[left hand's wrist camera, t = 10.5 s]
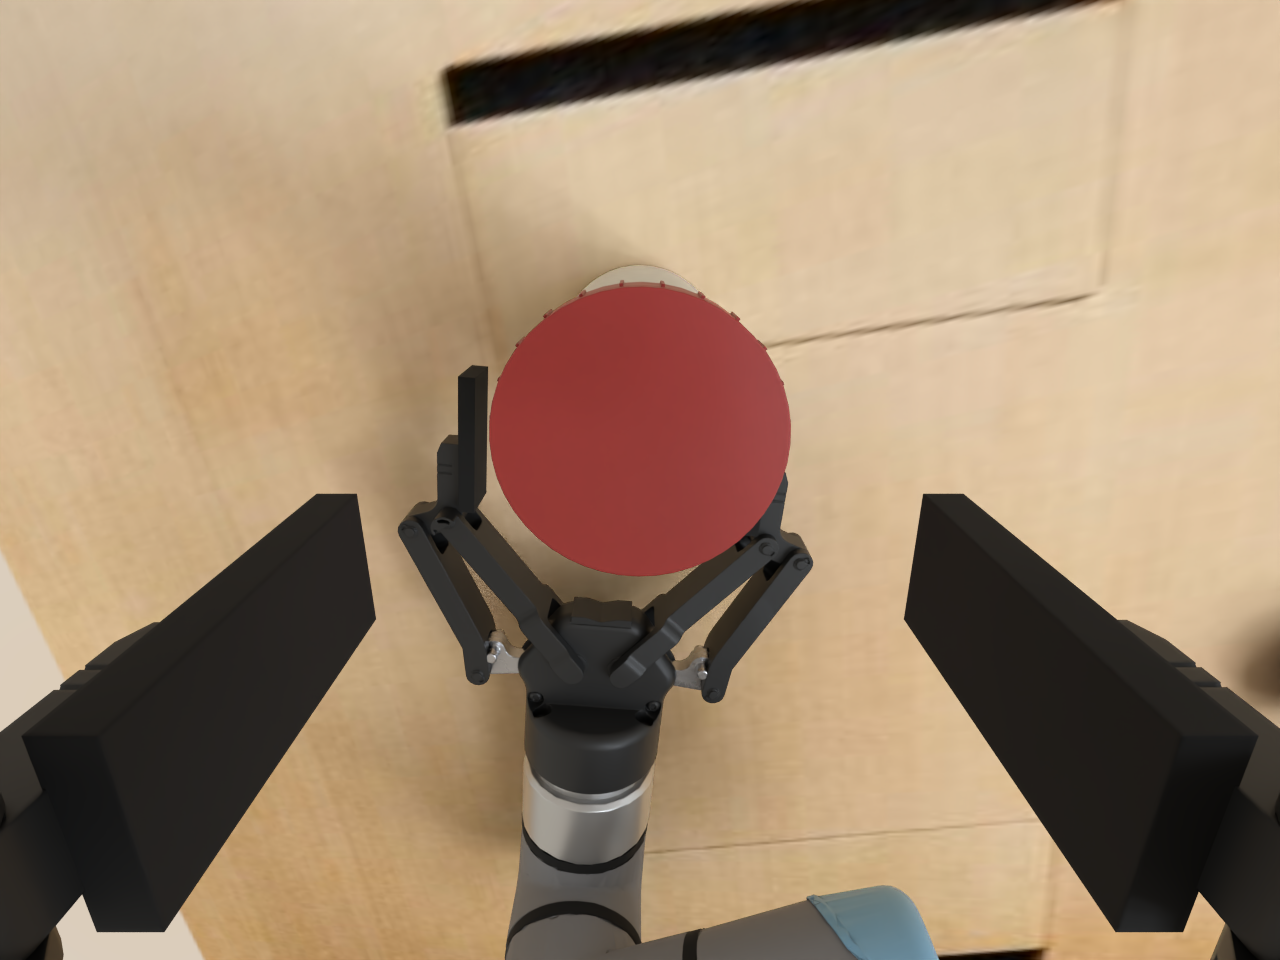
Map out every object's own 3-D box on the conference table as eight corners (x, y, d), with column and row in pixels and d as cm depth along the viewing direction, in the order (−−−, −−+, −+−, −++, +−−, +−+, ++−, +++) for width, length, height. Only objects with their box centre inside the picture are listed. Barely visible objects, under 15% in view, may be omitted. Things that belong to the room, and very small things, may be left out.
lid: (751, 245, 20) (761, 247, 19) (802, 519, 23) (815, 543, 22) (460, 322, 21) (443, 331, 19) (546, 577, 24) (538, 604, 22)
